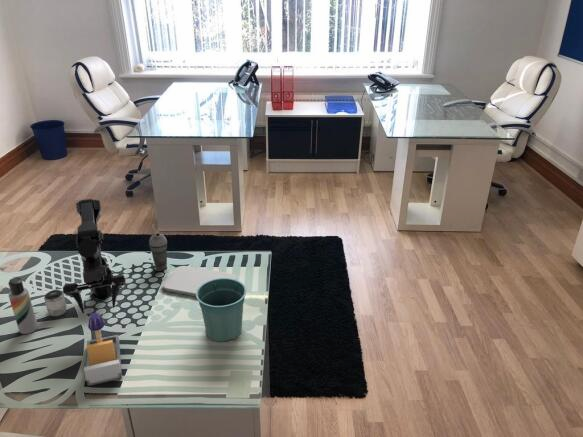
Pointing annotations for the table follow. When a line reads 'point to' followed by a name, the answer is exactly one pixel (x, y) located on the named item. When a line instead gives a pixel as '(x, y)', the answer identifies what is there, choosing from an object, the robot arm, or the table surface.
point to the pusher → (101, 352)
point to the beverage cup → (159, 250)
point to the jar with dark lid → (55, 302)
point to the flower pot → (222, 307)
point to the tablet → (191, 279)
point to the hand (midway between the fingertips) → (98, 310)
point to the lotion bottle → (22, 307)
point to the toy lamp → (96, 325)
